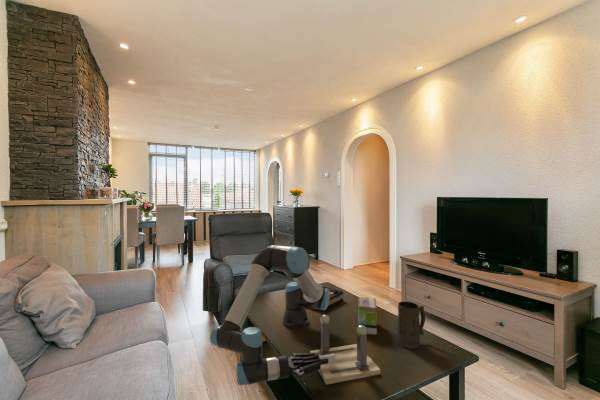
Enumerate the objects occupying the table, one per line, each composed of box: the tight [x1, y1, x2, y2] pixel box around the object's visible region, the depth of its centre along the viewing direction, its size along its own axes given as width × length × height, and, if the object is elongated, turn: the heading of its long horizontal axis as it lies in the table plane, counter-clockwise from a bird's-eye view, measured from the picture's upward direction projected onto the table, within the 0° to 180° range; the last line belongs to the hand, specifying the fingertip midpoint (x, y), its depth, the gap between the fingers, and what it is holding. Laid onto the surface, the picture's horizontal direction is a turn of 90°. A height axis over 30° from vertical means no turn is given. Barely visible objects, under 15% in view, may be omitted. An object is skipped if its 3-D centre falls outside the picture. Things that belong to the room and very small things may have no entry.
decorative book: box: [312, 285, 344, 312], centre depth 195 cm, size 19×8×30 cm
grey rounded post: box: [355, 325, 368, 370], centre depth 119 cm, size 4×4×18 cm
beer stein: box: [396, 301, 426, 350], centre depth 142 cm, size 15×11×20 cm
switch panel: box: [309, 343, 381, 385], centre depth 124 cm, size 21×24×2 cm
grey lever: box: [318, 314, 331, 355], centre depth 129 cm, size 4×4×18 cm
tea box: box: [357, 296, 378, 335], centre depth 158 cm, size 15×10×15 cm
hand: (334, 357), depth 115 cm, fingers closed
